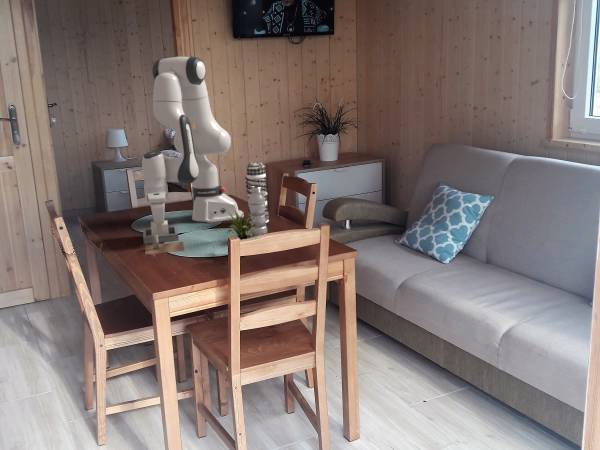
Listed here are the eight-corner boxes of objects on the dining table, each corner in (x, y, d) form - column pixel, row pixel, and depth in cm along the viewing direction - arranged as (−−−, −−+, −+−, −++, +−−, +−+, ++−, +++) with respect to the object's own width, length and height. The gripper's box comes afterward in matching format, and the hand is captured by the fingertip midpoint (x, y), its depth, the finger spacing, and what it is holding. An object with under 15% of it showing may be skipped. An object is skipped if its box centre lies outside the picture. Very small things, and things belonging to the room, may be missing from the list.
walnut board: (183, 244, 255) (181, 229, 253) (184, 253, 243) (183, 237, 242) (145, 248, 252) (143, 232, 250) (145, 257, 240) (143, 241, 239)
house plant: (211, 256, 237) (208, 212, 233) (235, 246, 249) (232, 203, 245) (244, 261, 230) (241, 215, 226) (267, 250, 241) (264, 206, 237)
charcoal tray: (177, 234, 269) (176, 225, 268) (178, 242, 257) (178, 234, 256) (144, 237, 266) (143, 229, 265) (144, 246, 254) (143, 237, 253)
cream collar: (168, 230, 264) (167, 220, 263) (168, 234, 258) (167, 224, 257) (151, 231, 263) (150, 221, 262) (151, 235, 257) (150, 225, 256)
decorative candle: (267, 224, 278) (263, 164, 271) (245, 224, 279) (241, 165, 273) (272, 219, 286) (268, 161, 280) (251, 218, 288) (247, 161, 282)
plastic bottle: (261, 241, 254) (258, 189, 249) (247, 239, 258) (243, 188, 253) (271, 236, 259) (268, 186, 254) (256, 234, 263) (253, 184, 258)
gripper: (148, 189, 266) (151, 223, 269) (148, 200, 247) (151, 236, 250) (164, 188, 267) (167, 221, 271) (165, 198, 248) (169, 234, 251)
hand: (160, 228), depth 260 cm, fingers closed on cream collar, 6 cm apart
